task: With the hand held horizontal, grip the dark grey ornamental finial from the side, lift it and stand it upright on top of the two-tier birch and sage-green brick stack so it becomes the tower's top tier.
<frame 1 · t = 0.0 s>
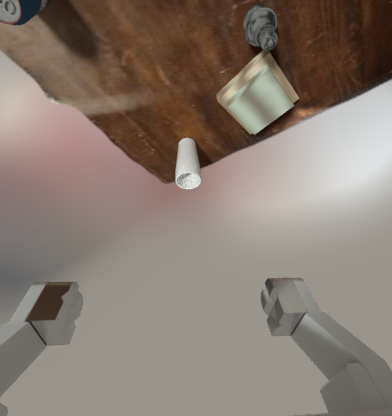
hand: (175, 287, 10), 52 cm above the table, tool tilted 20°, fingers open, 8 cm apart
brick tower base: (256, 93, 56), on the table
dark grey ornamental finial: (256, 21, 44), on the table
drinking glass: (187, 143, 68), on the table
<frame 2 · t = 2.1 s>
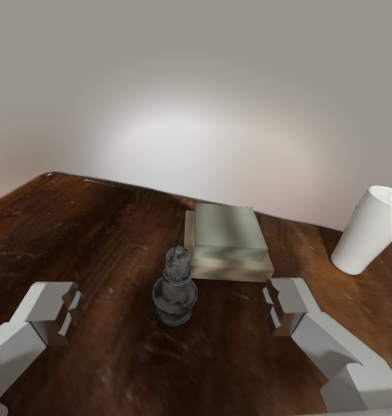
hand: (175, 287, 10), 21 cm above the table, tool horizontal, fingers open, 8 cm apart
brick tower base: (221, 248, 42), on the table
dark grey ornamental finial: (173, 307, 31), on the table
drinking glass: (344, 265, 42), on the table
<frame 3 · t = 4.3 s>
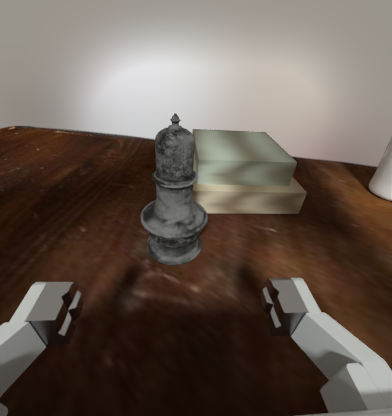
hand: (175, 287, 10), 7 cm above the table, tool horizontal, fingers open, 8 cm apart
brick tower base: (230, 184, 32), on the table
dark grey ornamental finial: (174, 245, 22), on the table
drinking glass: (386, 195, 33), on the table
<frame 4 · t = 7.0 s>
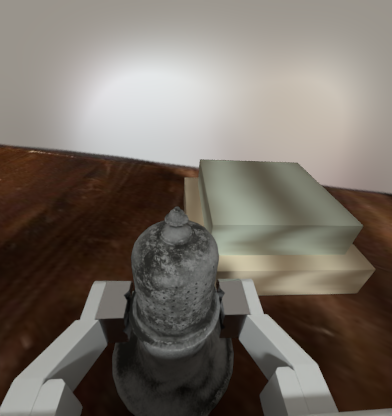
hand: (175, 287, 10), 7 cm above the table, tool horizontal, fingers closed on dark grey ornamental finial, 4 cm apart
brick tower base: (251, 235, 24), on the table
dark grey ornamental finial: (173, 375, 13), on the table, touching gripper
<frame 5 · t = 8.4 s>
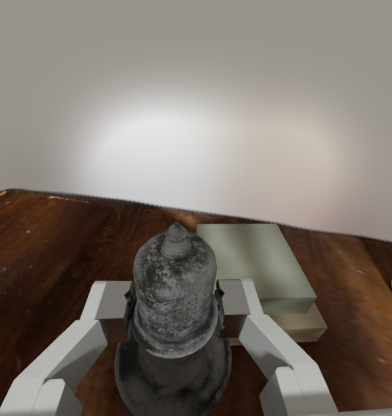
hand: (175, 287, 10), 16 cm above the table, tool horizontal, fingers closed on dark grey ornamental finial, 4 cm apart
brick tower base: (238, 286, 29), on the table
dark grey ornamental finial: (174, 376, 14), point 9 cm above the table, touching gripper
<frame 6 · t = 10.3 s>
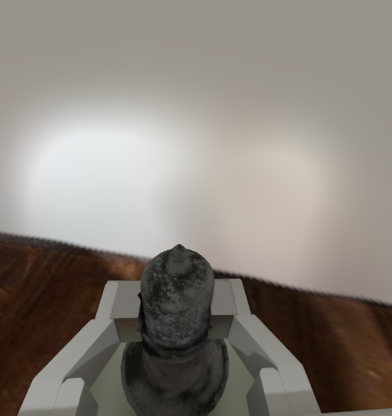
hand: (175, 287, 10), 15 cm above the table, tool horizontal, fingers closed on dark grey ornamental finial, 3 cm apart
brick tower base: (173, 415, 17), on the table
dark grey ornamental finial: (175, 381, 15), point 6 cm above the table, touching brick tower base, gripper
when the fingers open (15 cm above the table, at t = 10.4 s): dark grey ornamental finial stays where it is, resting on brick tower base.
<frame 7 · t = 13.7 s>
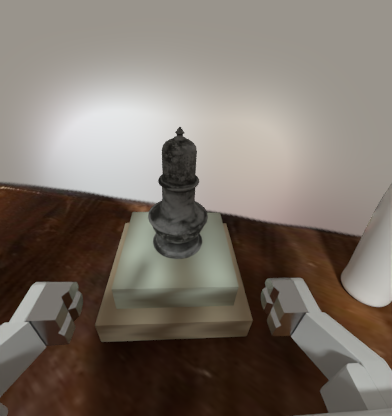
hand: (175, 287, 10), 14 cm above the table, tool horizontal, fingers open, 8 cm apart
brick tower base: (176, 278, 27), on the table
dark grey ornamental finial: (177, 241, 24), point 6 cm above the table, touching brick tower base
drinking glass: (361, 290, 28), on the table
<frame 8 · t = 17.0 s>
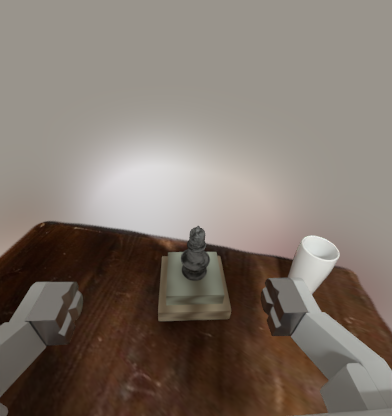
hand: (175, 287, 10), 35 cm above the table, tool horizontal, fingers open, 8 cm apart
brick tower base: (192, 289, 50), on the table
dark grey ornamental finial: (194, 270, 47), point 6 cm above the table, touching brick tower base
drinking glass: (294, 295, 51), on the table
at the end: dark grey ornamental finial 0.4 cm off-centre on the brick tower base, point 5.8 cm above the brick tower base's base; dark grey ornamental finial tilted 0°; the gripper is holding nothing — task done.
